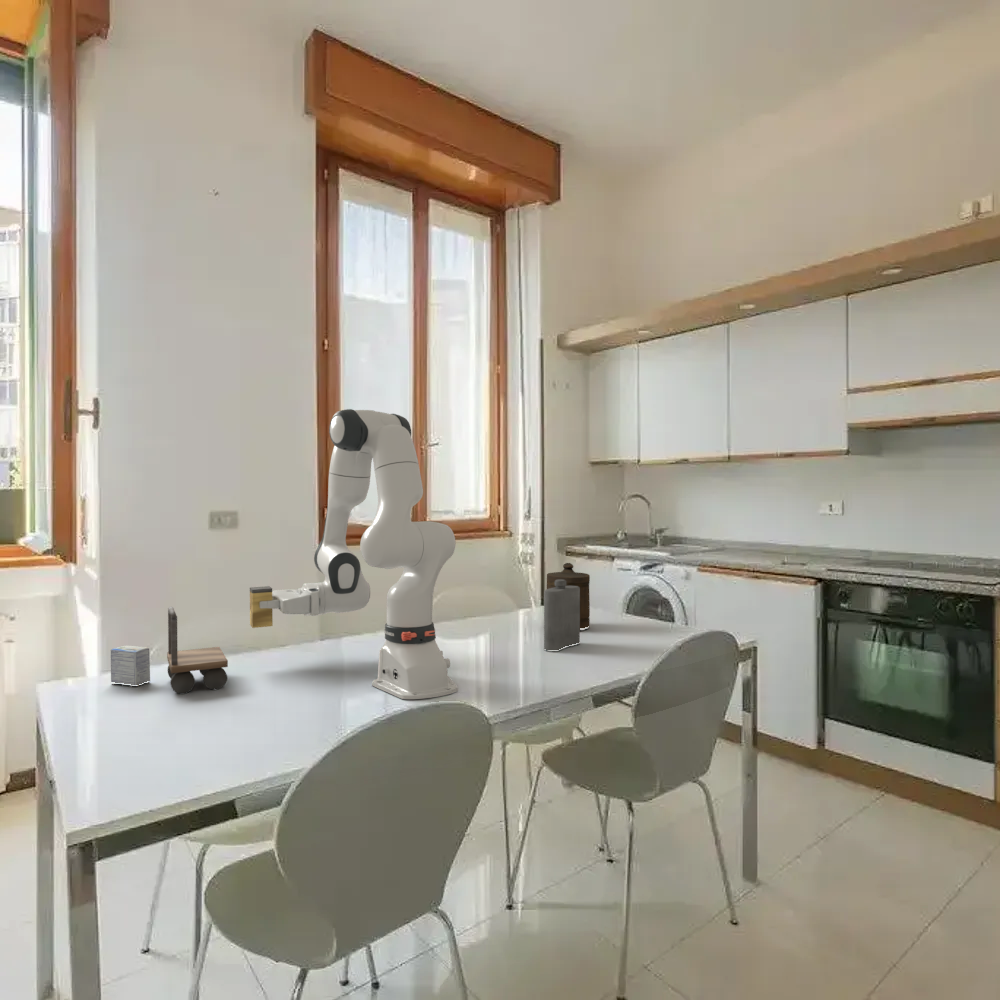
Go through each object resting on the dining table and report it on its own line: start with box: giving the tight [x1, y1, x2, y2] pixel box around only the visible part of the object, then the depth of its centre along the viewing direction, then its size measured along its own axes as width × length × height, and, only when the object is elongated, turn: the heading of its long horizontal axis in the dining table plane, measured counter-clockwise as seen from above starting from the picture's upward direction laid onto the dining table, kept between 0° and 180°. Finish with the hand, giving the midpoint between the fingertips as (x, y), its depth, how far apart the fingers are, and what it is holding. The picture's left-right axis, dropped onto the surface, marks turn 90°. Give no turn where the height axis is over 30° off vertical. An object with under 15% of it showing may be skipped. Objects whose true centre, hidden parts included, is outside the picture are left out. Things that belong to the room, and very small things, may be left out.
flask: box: [543, 579, 581, 650], centre depth 206 cm, size 15×6×20 cm, turn 141°
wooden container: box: [546, 562, 591, 628], centre depth 235 cm, size 15×15×22 cm
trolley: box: [166, 606, 229, 694], centre depth 166 cm, size 16×12×18 cm
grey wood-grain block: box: [110, 645, 151, 685], centre depth 167 cm, size 8×4×9 cm, turn 71°
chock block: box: [249, 585, 274, 629], centre depth 183 cm, size 4×5×10 cm
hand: (257, 603), depth 183 cm, fingers closed on chock block, 4 cm apart
